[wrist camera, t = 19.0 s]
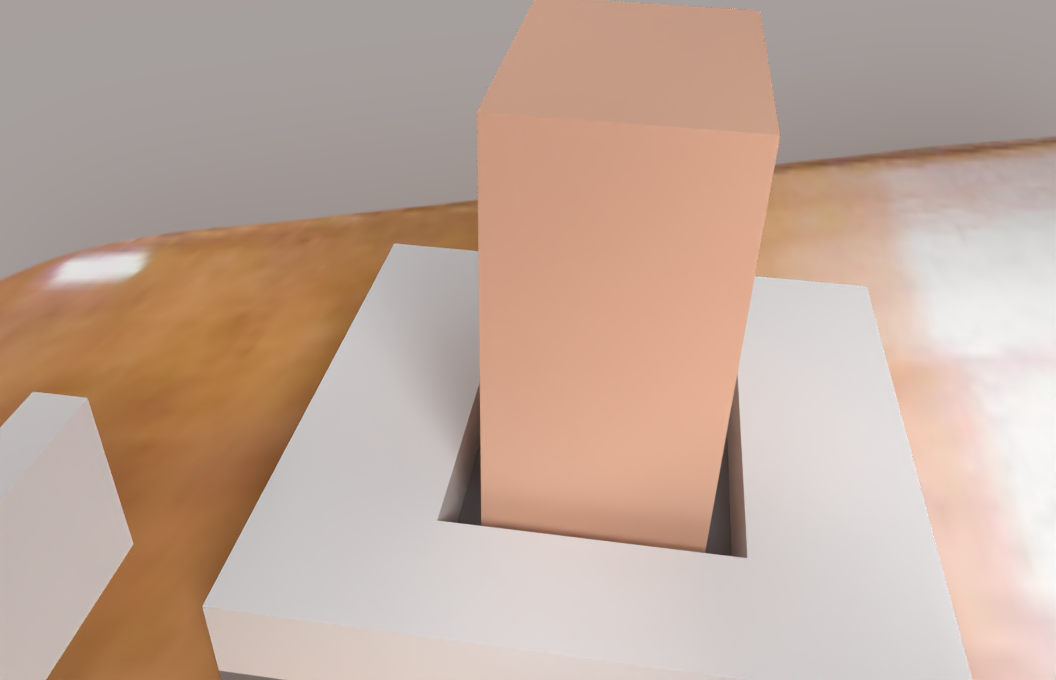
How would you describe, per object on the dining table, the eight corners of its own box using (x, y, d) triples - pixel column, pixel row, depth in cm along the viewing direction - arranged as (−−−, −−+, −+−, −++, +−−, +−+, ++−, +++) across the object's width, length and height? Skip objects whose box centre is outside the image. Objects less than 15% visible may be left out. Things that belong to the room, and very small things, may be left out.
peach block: (699, 400, 28) (760, 10, 21) (698, 590, 22) (779, 135, 16) (526, 382, 28) (535, -4, 22) (481, 562, 23) (476, 111, 16)
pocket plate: (849, 353, 31) (866, 286, 29) (944, 789, 19) (981, 711, 17) (398, 309, 32) (394, 243, 31) (222, 685, 20) (202, 606, 19)
